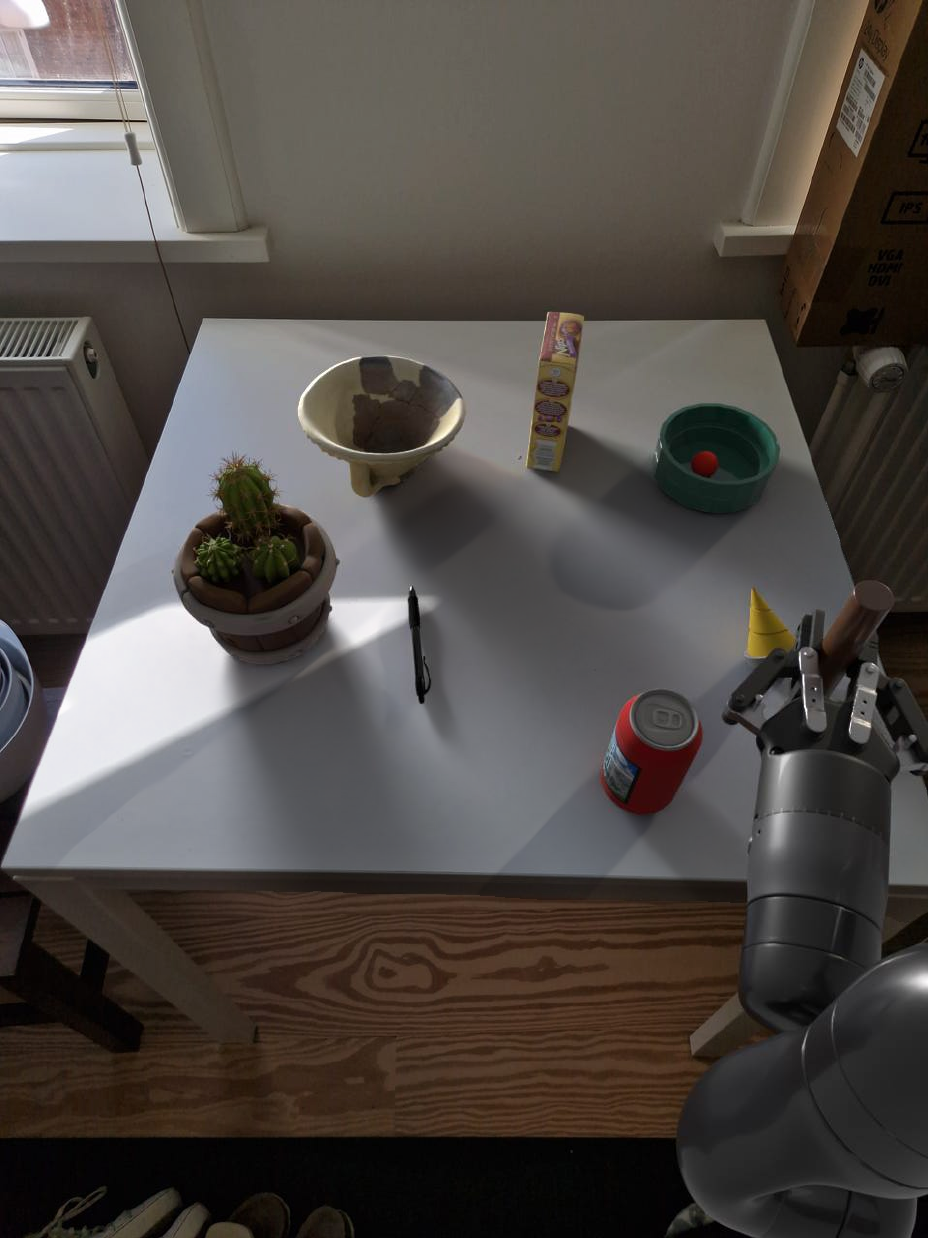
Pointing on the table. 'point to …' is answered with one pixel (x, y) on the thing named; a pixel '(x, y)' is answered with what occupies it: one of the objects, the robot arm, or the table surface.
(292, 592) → the flowerpot
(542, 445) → the candy box
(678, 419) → the mixing bowl
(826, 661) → the stirring stick
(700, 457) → the red ball
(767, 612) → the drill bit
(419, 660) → the pen
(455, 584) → the table surface
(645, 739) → the beverage can
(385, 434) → the bowl
